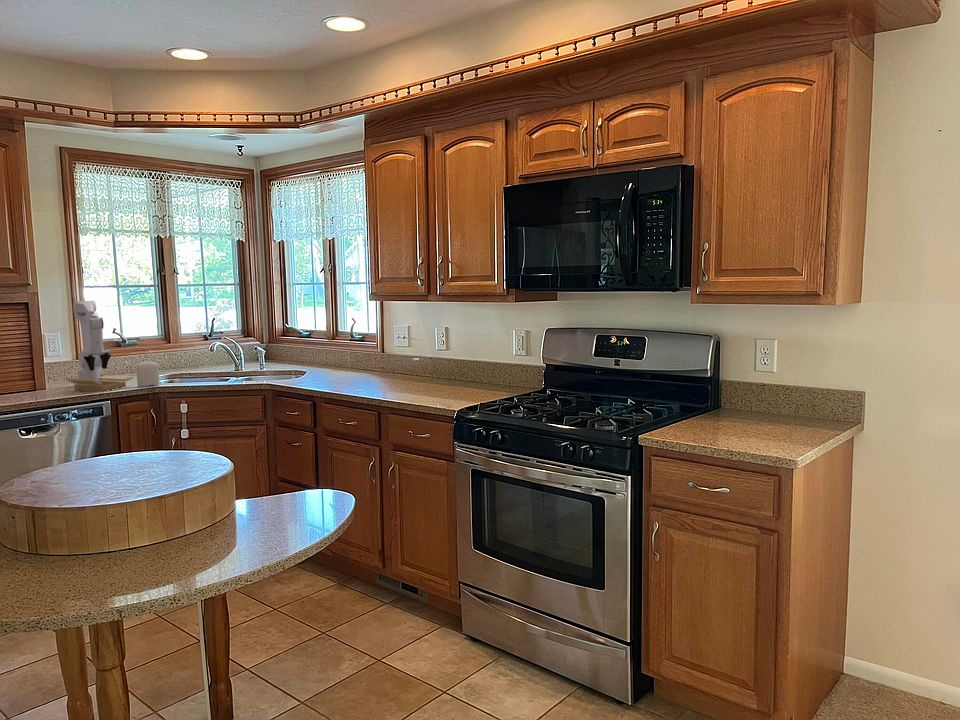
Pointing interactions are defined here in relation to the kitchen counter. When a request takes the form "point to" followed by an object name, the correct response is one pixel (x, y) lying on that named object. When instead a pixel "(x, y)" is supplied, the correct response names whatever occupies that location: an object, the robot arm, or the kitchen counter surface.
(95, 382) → the front flap
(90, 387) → the carton
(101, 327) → the robot arm
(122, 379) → the back flap
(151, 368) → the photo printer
